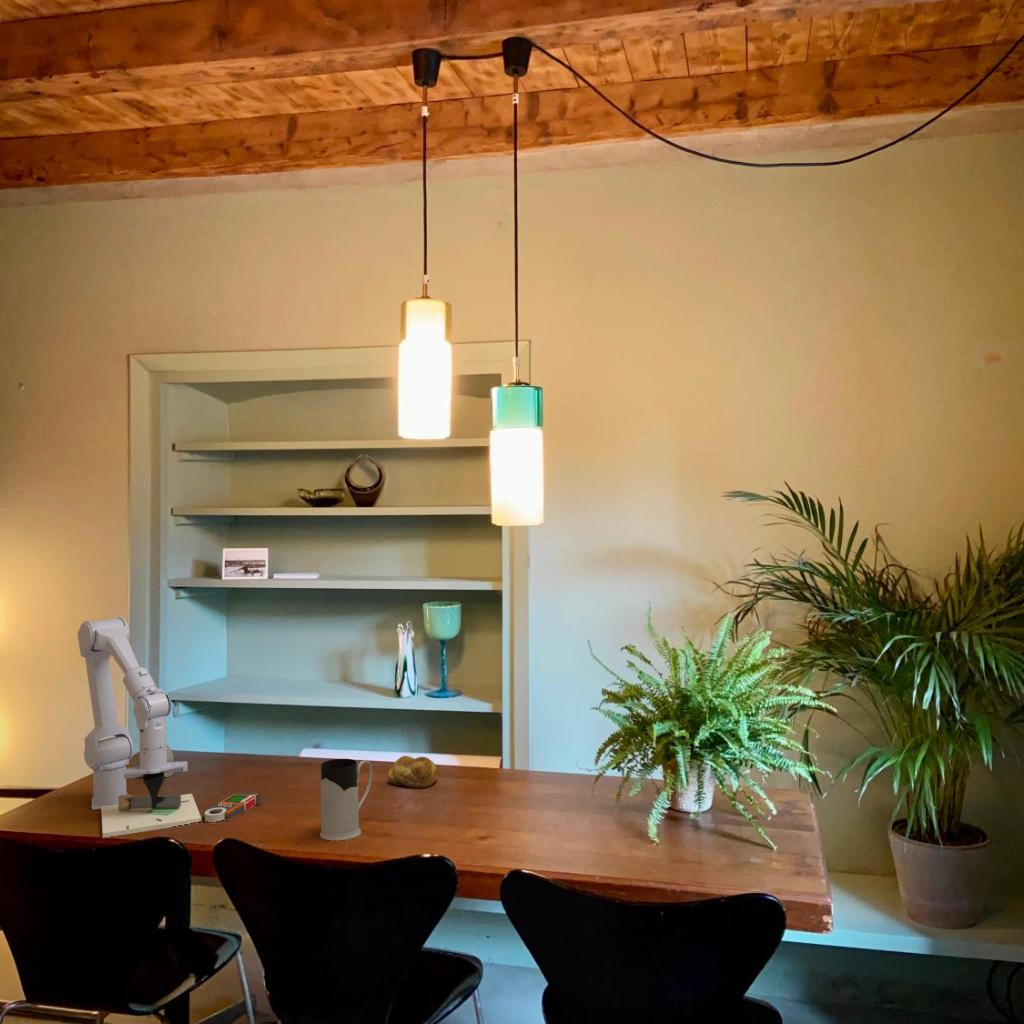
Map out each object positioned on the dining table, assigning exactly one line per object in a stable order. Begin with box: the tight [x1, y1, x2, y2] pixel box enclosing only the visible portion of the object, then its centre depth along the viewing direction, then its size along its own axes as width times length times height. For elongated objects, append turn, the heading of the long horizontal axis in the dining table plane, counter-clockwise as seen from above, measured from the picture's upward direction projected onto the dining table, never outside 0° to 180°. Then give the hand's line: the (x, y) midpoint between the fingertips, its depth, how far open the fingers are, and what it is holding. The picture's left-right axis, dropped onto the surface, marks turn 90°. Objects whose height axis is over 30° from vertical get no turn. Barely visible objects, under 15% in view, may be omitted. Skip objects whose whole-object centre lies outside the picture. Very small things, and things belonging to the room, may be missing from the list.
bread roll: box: [386, 755, 438, 789], centre depth 225 cm, size 13×10×8 cm
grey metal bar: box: [118, 793, 182, 811], centre depth 205 cm, size 14×3×3 cm, turn 90°
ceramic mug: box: [131, 743, 175, 778], centre depth 238 cm, size 11×8×8 cm
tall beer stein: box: [319, 758, 373, 841], centre depth 192 cm, size 9×14×15 cm, turn 146°
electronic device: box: [203, 791, 261, 822], centre depth 206 cm, size 7×3×15 cm
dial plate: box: [100, 793, 202, 839], centre depth 204 cm, size 20×20×1 cm
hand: (154, 806), depth 203 cm, fingers closed
